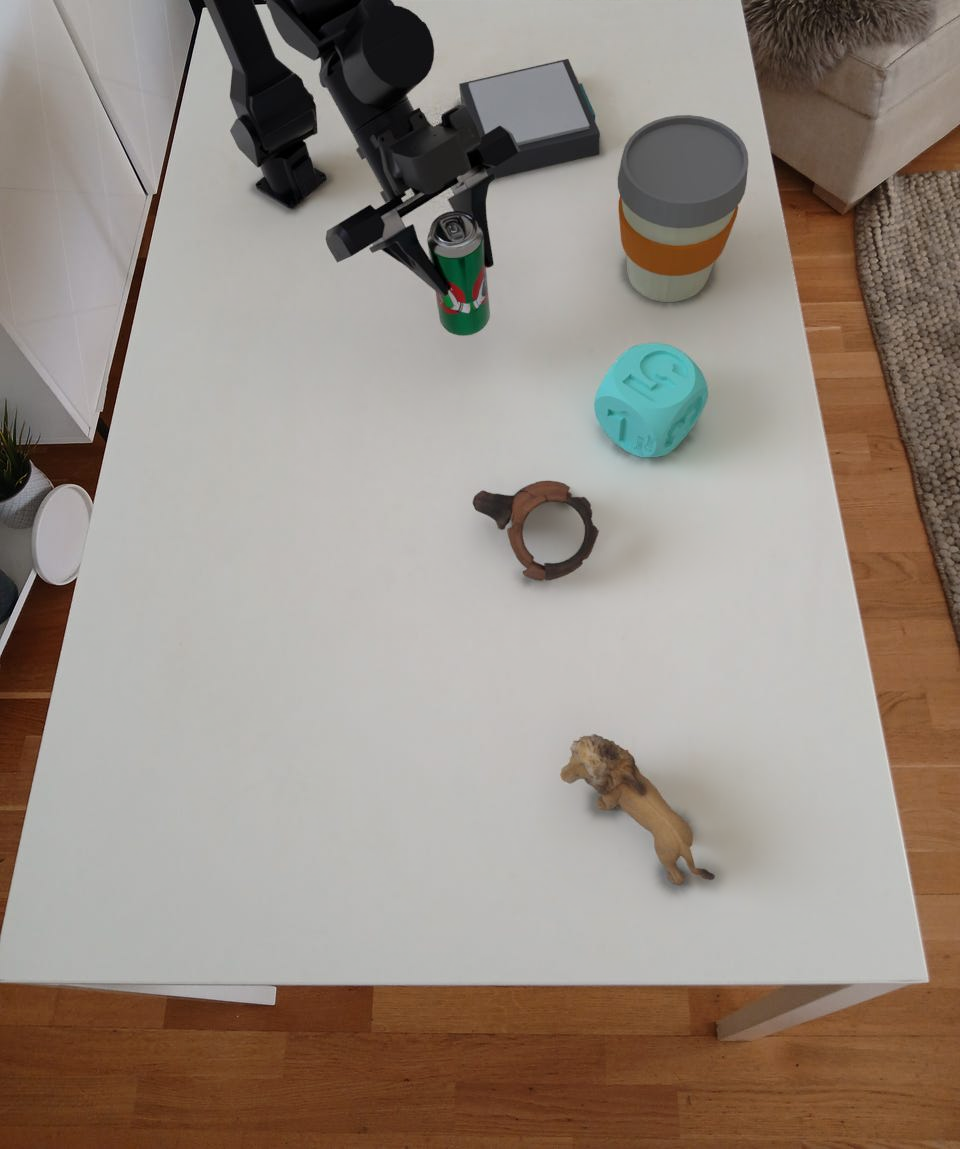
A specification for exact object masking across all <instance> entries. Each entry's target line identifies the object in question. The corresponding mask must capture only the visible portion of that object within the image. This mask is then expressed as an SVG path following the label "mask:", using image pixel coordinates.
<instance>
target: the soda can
mask: <svg viewBox="0 0 960 1149" xmlns="http://www.w3.org/2000/svg"><path fill="white" fill-rule="evenodd" d="M426 238H427V239H426V242H427V248H428V256H429V259H430V261H431V262H432V264H433V265H434V267H435V268H436V270H437V272H438V273H439V275H440V276H441V278H442V280H443V282H444V284H445V286H446V288H447V290H448V293H449V294H448V295H447V296H444V297H442V296H441V295H440V294H438V293H437V292H436V291H435V290H434V292H435V298H436V304H437V305H436V306H437V311H438V317H439V321H440V322H439V323H440V324H441V326H442V327H443V329H445V330H446V331H447V332H449V333H450V334H453V335H455V336H460V337H466V336H472V335H474V334H477V333H479V332H481V331H482V330H483V329H484V328H485V327H486V326H487V325H488V324H489V321H490V318H491V310H490V309H491V308H490V296H489V286H488V285H489V284H488V277H487V276H488V274H487V267H486V262H485V250H484V239H483V232H482V229H481V228H480V226H479V225H478V224H477V221H476V220H475V219H474V217H472V216H471V215H470V214H468V213H465V212H461V211H453V210H452V211H446V212H444V213H442V214H440V215H439V216H437V217H436V218H435V219H433V221H432V223H431V225H430V228H429V232H428V234H427V237H426Z"/></svg>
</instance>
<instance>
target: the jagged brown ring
mask: <svg viewBox="0 0 960 1149" xmlns="http://www.w3.org/2000/svg"><path fill="white" fill-rule="evenodd" d="M570 489H571V487H570V486H569V485H567V484H566V483H564V482H561V481H555V480H540V481H535V482H533V483H531V484H528V485H526V486H524V487H522V488H520V489H518V491H516V493H515V494H514V495H510V494H502V493H492V492H490V491H486V490H484V489H482V490H480V491H479V492H477V493H476V494H474V496H473V499H472V505H473V507H474V508H473V509H474V510H475V511H476V512H478V513H481V514H483V515H486V516H487V517H490V518H491V519H492V520H494V522H495V524H496V525H497V527H498V529H499V530H501V531H503V530H505V529H506V534H507V537H508V540H509V545H510V547H511V549H512V551H513V554H514V555H515V557H516V559H517V560H518V561H519V563H520V564H521V565H522V566H523V567H524V568H525V570H523V571H522V575H523V576H524V577H526V578H529V579H531V580H534V581H541V582H542V581H543V580H545V581H552V580H557V579H559V578H562V577H565V576H568V575H569V574H572V573H573V572H575V571H576V570H577V569H579V568H580V567H582V566H583V564H584V561H585V560H587V559H588V558H589V557H590V555H591V553H592V551H593V549H594V546H595V544H596V541H597V538H598V537H599V532H600V530H599V529H598V527H596V526H595V525H594V523H593V520H592V518H593V510H592V503H591V502H590V501H589V500H588V499H587V498H586V497H585V496H581V497H580V496H573V494H572V493H571V492H570ZM547 503H561V504H566V505H568V506H569V507H571V508H572V509H574V510H575V511H576V512H577V513H578V515H579V517H580V518H581V520H582V522H583V526H584V536H583V541H582V543H581V545H580V547H579V548H578V550H576V552H575V553H574V554H573V555H572V556H570V557H569V558H567V559H565V560H562V561H559V562H544V564H541V563H539V562H536V561H535V557H534V555H533V554H532V553H531V552H530V551H529V549H528V548H527V546H526V544H525V541H524V534H523V532H524V524H525V522H526V520H527V518H528V517H529V515H530V514H531V513H532V512H533V511H534V510H535V509H536V508H538V507H540V506H541V505H544V504H547ZM510 523H511V526H510V527H508V528H506V526H508V525H509V524H510Z"/></svg>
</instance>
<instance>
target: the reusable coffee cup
mask: <svg viewBox="0 0 960 1149" xmlns="http://www.w3.org/2000/svg"><path fill="white" fill-rule="evenodd" d="M748 170H749V151H748V150H747V147H746V144H745V142H744V141H743V139H742V138H741V137H740V136H739V135H738V134H737V133H736V131H734V130H733V129H732V128H730V127H729V126H727V125H726V124H724V123H722V122H720V121H717V120H715V119H713V118H709V117H704V116H701V115H692V114H679V115H677V114H676V115H670V116H665V117H661V118H659V119H654V120H653V121H651V122H649V123H646V124H645V125H643V126H642V127H640V128H639V129H637V130H636V131H634V133H633V134H632V135H631V136H630V137H629V138H628V140H627V141H626V143H625V145H624V147H623V151H622V155H621V159H620V165H619V170H618V174H617V189H618V193H619V198H618V218H619V219H618V221H619V231H620V241H621V246H622V249H623V251H624V253H625V257H626V258H625V259H626V272H627V277H628V280H629V282H630V285H631V286H632V287H633V288H634V290H635V291H636V292H638V293H639V294H640V295H642V296H643V297H644V298H647V299H650V300H653V301H656V302H661V303H662V302H663V303H675V302H681V301H682V302H683V301H685V300H688V299H690V298H692V297H694V296H696V295H697V294H698V293H699V292H701V291H702V290H703V288H704V287H705V286H706V284H707V282H708V280H709V277H710V275H711V272H712V271H713V270H712V269H713V267H714V264H715V263H716V261H717V260H718V259H719V257H720V256H722V254H723V252H724V250H725V247H726V244H727V243H728V239H729V238H730V234H731V232H732V229H733V227H734V224H735V222H736V220H737V216H738V211H739V204H740V203H741V201H743V200H742V199H743V198H744V196H745V194H746V188H747V181H748Z"/></svg>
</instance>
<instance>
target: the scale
mask: <svg viewBox="0 0 960 1149" xmlns="http://www.w3.org/2000/svg"><path fill="white" fill-rule="evenodd" d="M458 86H459V94H460V96H459V97H460V105H464V106H466V107H467V108H468V110H469V112H470V114H471V116H472V117H473V119H474V121H475V123H476V125H477V127H478V130H479V133H480V137H482V136H483V135H485V134H486V133H488V132H490V131H491V130H493V129H495V128H496V127H498V126H502V127H504V128H506V129H507V130H508V131H510V132H511V133H512V134H513V136H514V138H515V140H516V143H517V145H518V147H519V149H520V152H519V153H517V154H516V155H514V156H512V157H511V158H509V159H507V160H506V161H504V162H503V163H501V164H499V165H498V166H496V167H494V168H492V167H490V168H489V169H487V170H486V172H487V174H488V176H489V175H491V174H493V173H495V179H498V178H503V177H507V176H511V175H516V174H520V173H523V172H524V173H525V172H527V171H532V170H537V169H541V168H545V167H549V166H553V165H558V164H562V163H567V162H570V161H576V160H579V159H580V160H581V159H584V158H588V157H593V156H597V155H600V144H601V143H600V140H601V139H600V138H601V132H600V130H599V127H598V124H597V123H596V113H595V111H594V108H593V107H592V104H591V101H590V99H589V97H588V95H587V92H586V90H585V88H584V85H583V83H582V82H581V83H579V80H578V78H577V76H576V73H575V71H574V68H573V66H572V65H571V62H570V59H569V58H565V59H561V60H556V61H552V62H548V63H543V64H539V65H535V66H530V67H526V68H522V69H516V70H512V71H508V72H505V73H499V74H495V75H491V76H487V77H483V78H478V79H473V80H469V81H465V82H461V83H459V84H458Z"/></svg>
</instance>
